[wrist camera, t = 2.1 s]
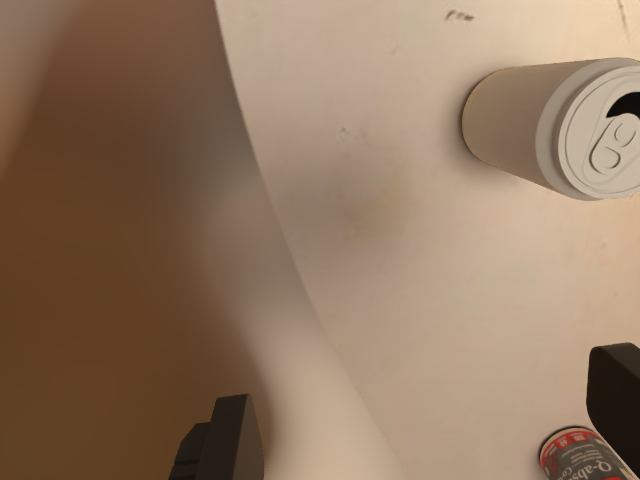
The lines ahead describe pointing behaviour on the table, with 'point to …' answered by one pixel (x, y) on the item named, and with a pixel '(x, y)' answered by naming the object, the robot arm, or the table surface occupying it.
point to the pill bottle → (581, 457)
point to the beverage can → (561, 126)
